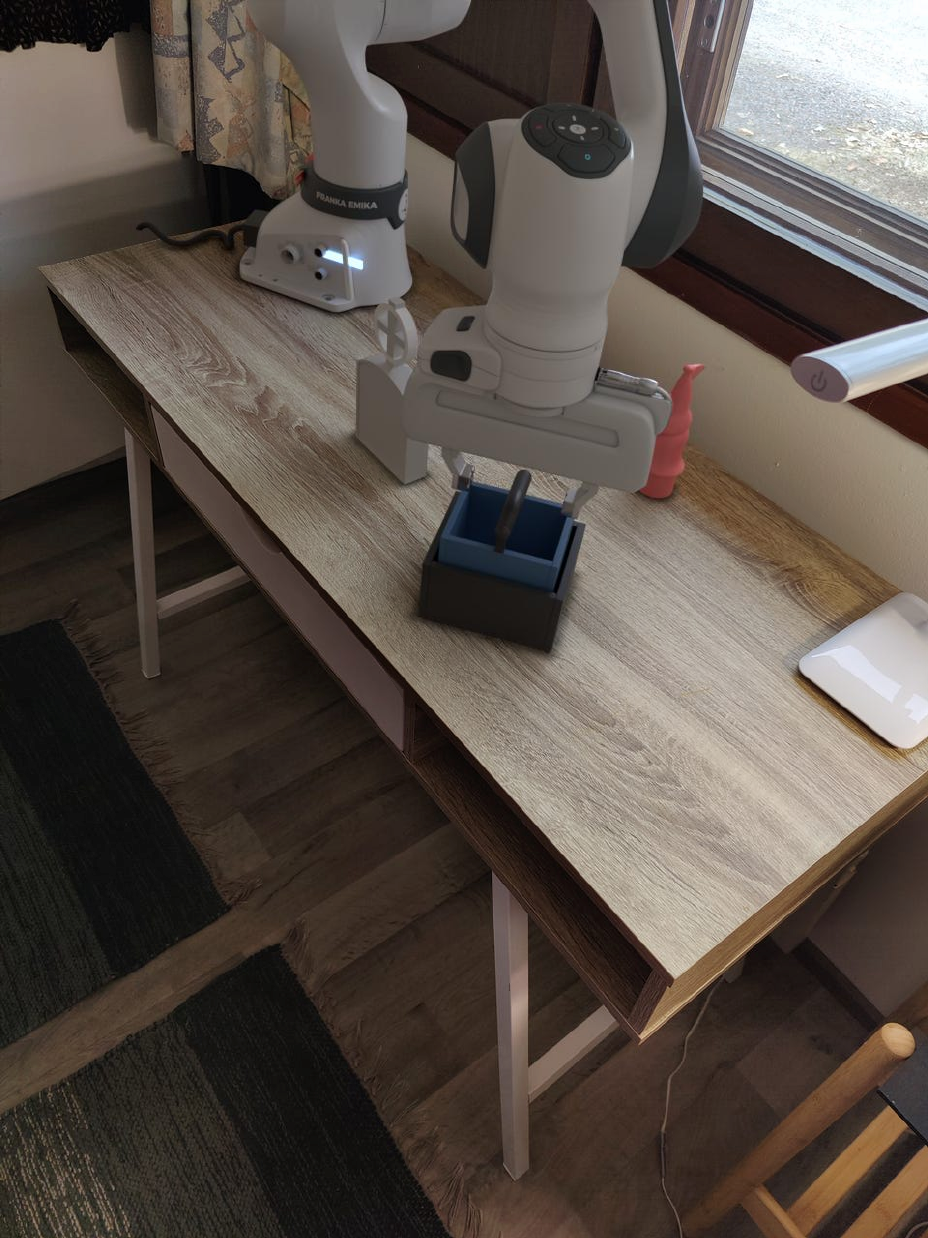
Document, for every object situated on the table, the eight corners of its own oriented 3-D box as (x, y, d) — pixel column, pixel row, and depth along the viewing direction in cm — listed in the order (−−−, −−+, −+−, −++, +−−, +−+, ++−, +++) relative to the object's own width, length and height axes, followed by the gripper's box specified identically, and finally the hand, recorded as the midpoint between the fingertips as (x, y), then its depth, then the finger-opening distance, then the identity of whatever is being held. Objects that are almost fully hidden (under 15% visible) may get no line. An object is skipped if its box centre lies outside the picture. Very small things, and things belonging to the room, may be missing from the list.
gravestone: (376, 428, 105) (381, 274, 91) (426, 475, 100) (438, 320, 87) (355, 436, 103) (357, 280, 90) (404, 484, 99) (413, 327, 85)
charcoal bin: (417, 616, 86) (422, 563, 81) (449, 543, 93) (455, 490, 88) (550, 652, 85) (563, 601, 80) (573, 575, 92) (586, 523, 87)
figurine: (648, 464, 105) (684, 343, 94) (686, 487, 103) (727, 366, 92) (620, 483, 102) (653, 360, 91) (658, 507, 100) (697, 385, 89)
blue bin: (432, 609, 86) (441, 515, 78) (459, 545, 92) (470, 452, 84) (541, 639, 85) (562, 547, 77) (561, 572, 91) (583, 480, 83)
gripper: (684, 364, 71) (642, 506, 81) (422, 305, 74) (413, 450, 84) (674, 410, 67) (631, 554, 77) (396, 345, 69) (390, 493, 79)
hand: (515, 499), depth 80 cm, fingers open, 8 cm apart
